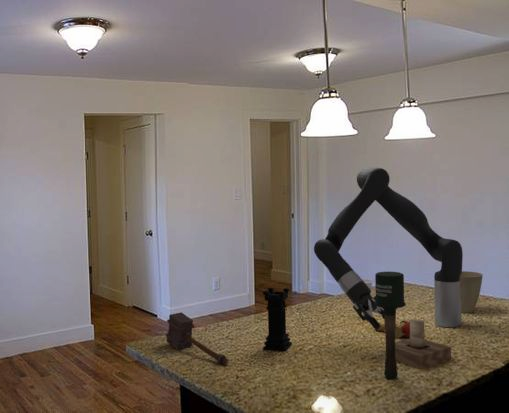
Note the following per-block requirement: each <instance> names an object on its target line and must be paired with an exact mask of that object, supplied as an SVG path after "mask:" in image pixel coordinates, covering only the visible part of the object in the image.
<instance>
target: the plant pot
mask: <svg viewBox="0 0 509 413" xmlns="http://www.w3.org/2000/svg"><path fill="white" fill-rule="evenodd" d="M482 282H483V273H480V272H477V271H476V272H475V271H467V270H466V271H465V270H464V271H463V270H462V273H461V275H460V299H461V314H470V313H473V312H474V311H475V308H476V306H477V304H478V300H479V297H480V294H481V288H482Z"/></svg>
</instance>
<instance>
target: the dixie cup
mask: <svg viewBox="0 0 509 413" xmlns="http://www.w3.org/2000/svg"><path fill="white" fill-rule="evenodd" d="M361 279H362V280H363V281H364V282H365V284H366V285H367V286H368V287H369V289H370V290H371V291H372V284H373V280H371V279H368V278H367V279H365V278H361ZM371 293H372V292H371ZM371 293H370V295H371ZM371 296H372V295H371Z"/></svg>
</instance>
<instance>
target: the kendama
mask: <svg viewBox="0 0 509 413" xmlns="http://www.w3.org/2000/svg"><path fill="white" fill-rule="evenodd" d="M378 323H379V324H380V325H381V327H380V328H379V329H377V330H375V331H377V332H378V331H379V332H380V331H381V332H386V331H385V324H384V323H380V322H378ZM403 336H405V337H406V338H407V339H409V338H410V321H408V320H406V319H402V320H401V321H400V322H399V324H397V323H396V327H395V339H397V338H398V339H399V338H402V337H403Z"/></svg>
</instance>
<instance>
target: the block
mask: <svg viewBox="0 0 509 413" xmlns="http://www.w3.org/2000/svg"><path fill="white" fill-rule="evenodd" d="M395 358H396V362H399V363H402V364H405V365H407V364H408V366H410V365H411V366H410V367H413V366H414V367H413V368H416V367H417V368H416V369H419V368H420V369H419V370H424V369H427V368H430V367H433V366H437V365H440V364H442V363H444V362H448V361H452V346H448V345H445V344H442V343H439V342H435V341H431V340H427V339H425V348H424V349H420V350H418V349H415V348H412V347H410V338H406V339H402V340H399V341H395Z"/></svg>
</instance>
